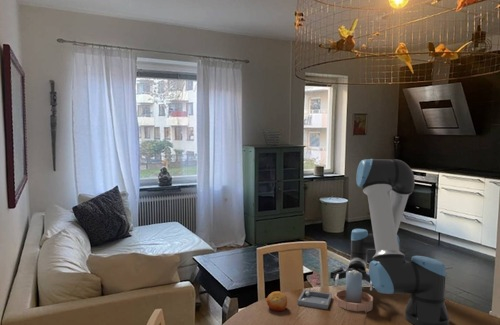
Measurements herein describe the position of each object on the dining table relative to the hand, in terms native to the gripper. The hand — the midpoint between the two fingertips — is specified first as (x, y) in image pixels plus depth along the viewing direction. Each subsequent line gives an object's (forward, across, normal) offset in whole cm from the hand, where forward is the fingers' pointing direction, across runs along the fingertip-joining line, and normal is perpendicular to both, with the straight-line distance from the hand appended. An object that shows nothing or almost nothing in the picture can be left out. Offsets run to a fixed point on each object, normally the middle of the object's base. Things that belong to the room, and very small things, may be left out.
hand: (353, 284), depth 153 cm
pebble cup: (-3, 0, -8) cm, 9 cm away
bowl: (-3, 0, -10) cm, 10 cm away
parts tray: (+1, +15, -10) cm, 18 cm away
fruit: (+13, +28, -10) cm, 32 cm away
